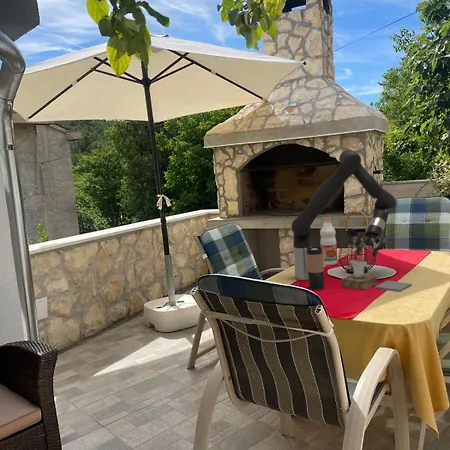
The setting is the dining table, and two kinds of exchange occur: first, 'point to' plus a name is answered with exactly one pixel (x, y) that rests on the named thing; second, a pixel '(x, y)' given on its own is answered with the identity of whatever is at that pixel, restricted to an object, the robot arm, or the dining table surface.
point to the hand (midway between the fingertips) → (365, 254)
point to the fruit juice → (328, 242)
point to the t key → (358, 268)
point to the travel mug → (315, 268)
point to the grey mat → (393, 286)
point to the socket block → (359, 282)
